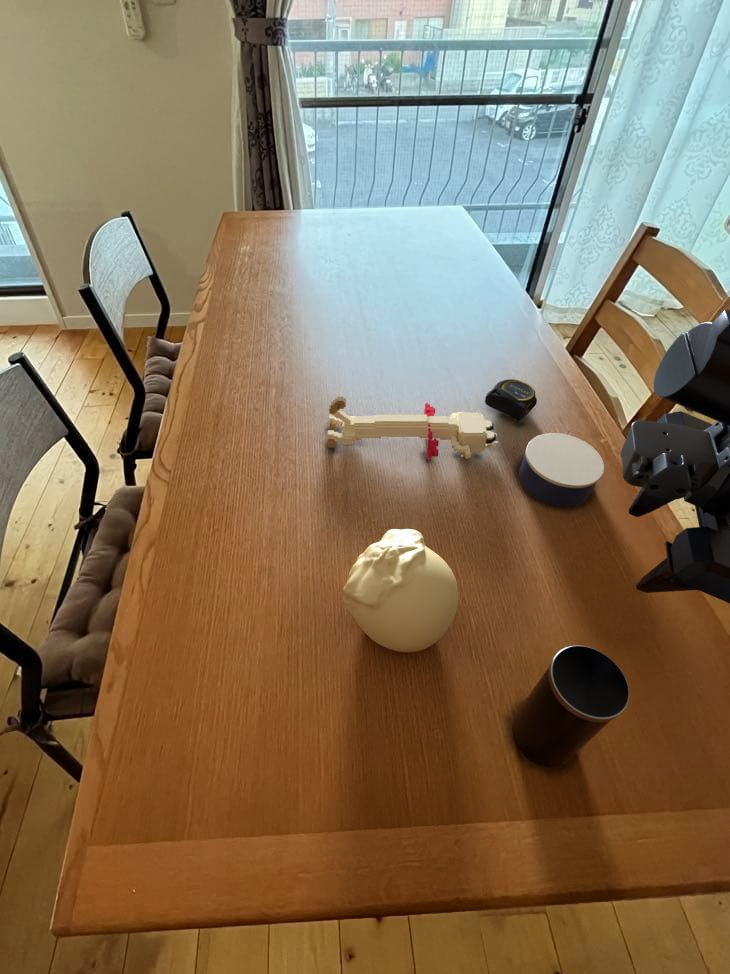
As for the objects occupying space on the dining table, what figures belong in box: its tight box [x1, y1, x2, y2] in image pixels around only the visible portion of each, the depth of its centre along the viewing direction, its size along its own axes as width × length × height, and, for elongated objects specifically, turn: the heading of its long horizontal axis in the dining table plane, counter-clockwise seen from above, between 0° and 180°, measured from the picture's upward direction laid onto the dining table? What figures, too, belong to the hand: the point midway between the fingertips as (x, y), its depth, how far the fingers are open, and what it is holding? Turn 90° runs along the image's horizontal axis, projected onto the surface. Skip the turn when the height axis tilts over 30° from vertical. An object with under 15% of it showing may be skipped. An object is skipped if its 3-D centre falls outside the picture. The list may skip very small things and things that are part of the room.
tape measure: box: [484, 378, 538, 422], centre depth 89 cm, size 7×7×4 cm
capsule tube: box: [511, 645, 630, 769], centre depth 50 cm, size 6×6×13 cm
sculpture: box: [342, 528, 459, 653], centre depth 60 cm, size 12×12×11 cm
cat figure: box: [327, 396, 499, 461], centre depth 81 cm, size 10×9×25 cm
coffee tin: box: [518, 432, 605, 508], centre depth 78 cm, size 10×10×4 cm
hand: (636, 549), depth 53 cm, fingers open, 9 cm apart
